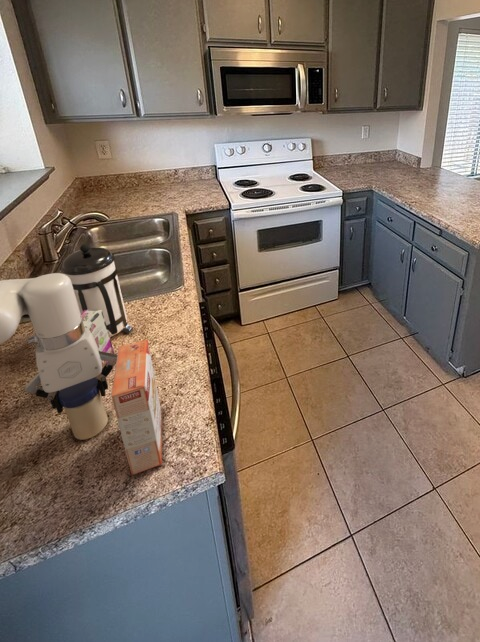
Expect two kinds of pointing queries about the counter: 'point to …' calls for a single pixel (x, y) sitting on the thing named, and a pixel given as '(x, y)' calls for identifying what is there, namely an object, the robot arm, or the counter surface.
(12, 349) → the counter surface
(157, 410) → the cracker box
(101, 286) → the coffee press
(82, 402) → the jar lid
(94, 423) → the jar
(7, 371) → the counter surface
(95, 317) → the candy bar box
